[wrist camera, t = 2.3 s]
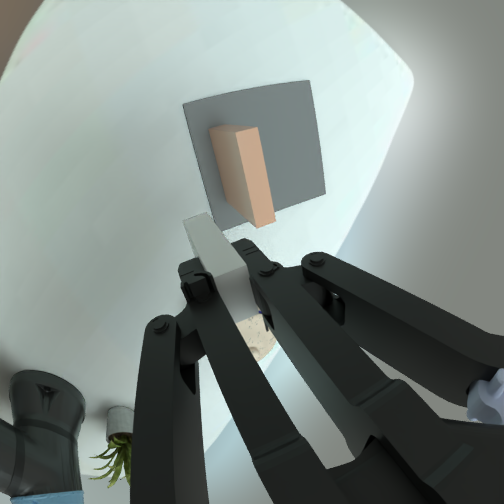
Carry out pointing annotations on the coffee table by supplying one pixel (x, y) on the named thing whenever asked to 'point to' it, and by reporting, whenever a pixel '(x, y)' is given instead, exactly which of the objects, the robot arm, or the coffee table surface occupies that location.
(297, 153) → the mat
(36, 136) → the coffee table surface
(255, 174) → the tile
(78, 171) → the coffee table surface
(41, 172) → the coffee table surface
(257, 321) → the teacup with lid
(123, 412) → the house plant
